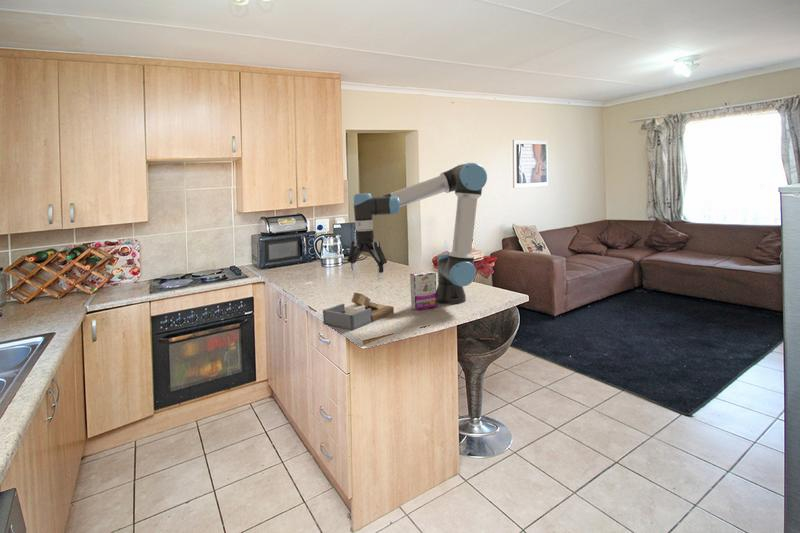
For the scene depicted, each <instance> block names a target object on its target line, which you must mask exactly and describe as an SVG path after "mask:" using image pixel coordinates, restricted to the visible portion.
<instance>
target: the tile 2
mask: <svg viewBox="0 0 800 533" xmlns="http://www.w3.org/2000/svg"><path fill="white" fill-rule="evenodd" d="M363 310H365V306H364V305H358V304H355V303H353V304H350V305H347V306H345V313H350V314H355V313H358V312H360V311H363Z"/></svg>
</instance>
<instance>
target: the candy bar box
mask: <svg viewBox="0 0 800 533" xmlns="http://www.w3.org/2000/svg"><path fill="white" fill-rule="evenodd" d="M409 281H410V282H409V283H410V284H409V285H410V301H411V302H410V303H411V304H410V305H411V309H412V310H413V311H421V310H426V309H427V310H428V309H433V308H437V306H438V304H437V303H438V302H437V299H436V290H437V273H436V272H434V271H432V270H430V271H423V272H415V273H414V272H413V273H410V274H409Z"/></svg>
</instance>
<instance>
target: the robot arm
mask: <svg viewBox="0 0 800 533" xmlns="http://www.w3.org/2000/svg"><path fill="white" fill-rule="evenodd" d="M487 181H488V174H487V171H486V169H485V168H484V166H483V165H481V164H479V163H477V162H467V163H464V164H463V163H461V164H459V165H456V166H455V167H452V168H450V169H448V170H446V171H443V172H440V174H439V175H438V176H435V177H433V178H430V179H427V180H425V181H421V182H418V183H415V184H413V185H408V186H406V187H404V188H400V189H398V190H395V191H393V192H389V193H387V194H383V195H378V196H376V197H373V196H372V194H371V193H370V192H369V193H367V192H365V193H355V194H354V195H353V210H354V211H353V212H354V225H355V230H356V231H355V240H353V241H351V246H350V249H349V253H348V257H347V259H346V261H347V262H349V263H350V266H351V270H352V278H353V279H356V278H359V265H358V259H359V257H360V256H361V254H362V253H364V252H365V253H368V254H370V255H371V257H372V258H373V260H374V261H375V263H376V264H377V265H376V278H377V281H378V282H380V281H382V280H383V279H384V277H383V273H384V264H387V263H388V261H387V259H386V256H385V254H384V252H383V250H382V247H381V243H380V241H379V240H378V241H374V238H375V237H374V230H373V229H374V220H373V216H383V215H384V216H387V215H397V214H399V213H400V211H401V207H404V206H407V205H411V204H413V203H416V202H419V201H422V200H424V199H428V198H430V197H433V196H436V195H439V194H442V193H446V194H449V193H451V192H454V194H455V196H456V197H457V201H456V202H457V203H456V211H455V212H456V213H455V221H454V230H453V231H454V232H453V241H452V247H451V248H452V250H451V252H448V253H441V254H438V255H437V261H436V262H437V286H436V299H437V303H439V304H445V305H446V304H447V305H448V304H451V305H453V304H461V303H464V302H465V301H467V299H466V298H467V296H466V292H465V289H464V287H467V286H469V285H471V284H472V283H473V281H474V280H475V279H476V275H477V269H476V267H475V265H474V262H475V256H474V255H473V253H472V249H473V242H474V241H473V240H474V232H475V231H474V230H475V225H476V224H475V222H476V213H477V203H478V199H479V198H480V197H481V196H482V191H483V188H484V187H485V185H486V184H487ZM474 282H475V281H474Z"/></svg>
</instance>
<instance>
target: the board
mask: <svg viewBox="0 0 800 533" xmlns="http://www.w3.org/2000/svg"><path fill="white" fill-rule="evenodd" d="M377 304H378V305H379V306H380V308H379V309H374V308H371V313H372V323H373V322H376V321H378V320H381V319H384V318H385V317H388V316H390V315H392V314H395V311H394V306H392V305H385V304H379V303H377ZM366 309H368V308H365V310H366Z"/></svg>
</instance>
